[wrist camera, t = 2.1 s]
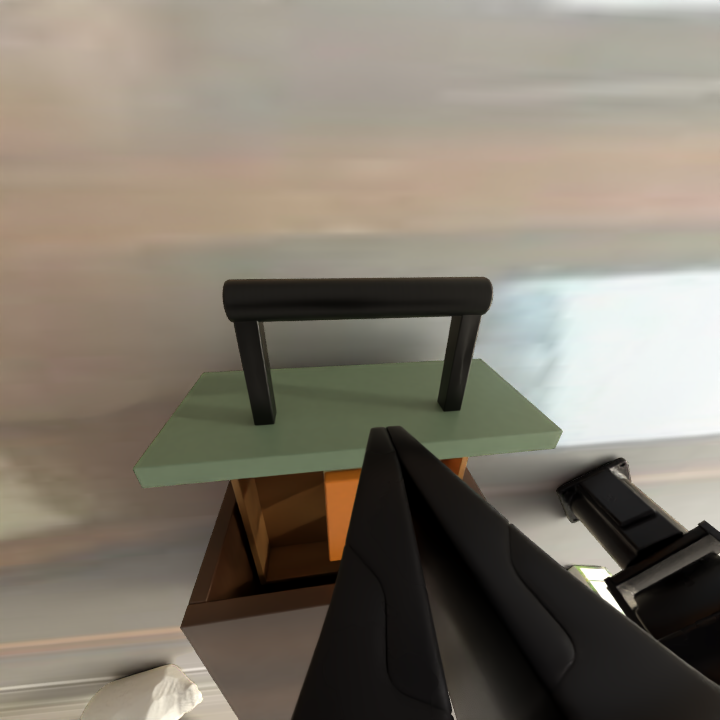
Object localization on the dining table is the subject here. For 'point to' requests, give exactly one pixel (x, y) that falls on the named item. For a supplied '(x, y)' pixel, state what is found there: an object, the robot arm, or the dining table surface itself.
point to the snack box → (339, 506)
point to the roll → (145, 697)
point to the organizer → (255, 622)
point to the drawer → (334, 409)
